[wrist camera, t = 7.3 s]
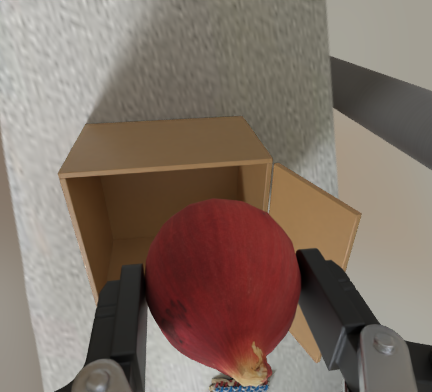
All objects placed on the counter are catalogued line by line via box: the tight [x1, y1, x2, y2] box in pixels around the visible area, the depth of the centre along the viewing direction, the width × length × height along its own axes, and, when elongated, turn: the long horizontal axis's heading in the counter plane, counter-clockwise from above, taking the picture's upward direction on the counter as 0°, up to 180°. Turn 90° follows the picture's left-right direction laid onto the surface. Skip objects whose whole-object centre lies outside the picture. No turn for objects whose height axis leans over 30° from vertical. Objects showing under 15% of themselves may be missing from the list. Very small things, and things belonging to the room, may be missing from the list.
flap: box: [269, 163, 362, 363], centre depth 24 cm, size 7×14×1 cm
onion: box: [145, 198, 301, 387], centre depth 12 cm, size 6×6×8 cm
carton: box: [58, 116, 273, 306], centre depth 30 cm, size 15×14×10 cm
